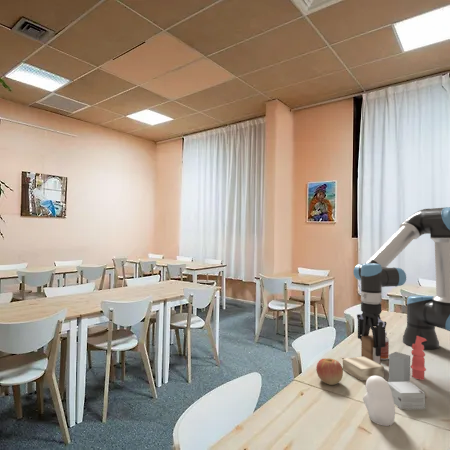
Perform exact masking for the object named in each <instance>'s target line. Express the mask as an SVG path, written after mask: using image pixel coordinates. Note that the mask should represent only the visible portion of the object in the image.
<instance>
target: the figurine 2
mask: <svg viewBox="0 0 450 450" xmlns="http://www.w3.org/2000/svg"><path fill="white" fill-rule="evenodd" d="M416 337H417V338H416V341H415V344H412V346H411V348H412V350H411V355H412V359H411V364H410V369H412V370H411V371H412V372H411V376H412V378H413V379H417V380H419V381H421V380H425V372H426V371H427V368H426V366H425V361H426V360H425V356H426V353H425V351H424V350H425V349H424V345H422V344H421V343H422V342H424V341H427V340H426V339H425V338H422V337H420V336H416Z"/></svg>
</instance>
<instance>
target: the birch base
mask: <svg viewBox="0 0 450 450" xmlns="http://www.w3.org/2000/svg"><path fill="white" fill-rule="evenodd" d="M342 368H343V372H346V373H348V374H349V375H351V376H353V377H355V378H356V379H358V380H359V381H367V379H368V378H369V377H371V376H380V377H382V378H385V376H384V375H385V371H384V370H385V366H384V365H382V364H381V365H380V364H378V363H376V362H374V361H372V360H370V359H368V358H366V357H364V356H363V357H361V356H357V357H346V358H342Z"/></svg>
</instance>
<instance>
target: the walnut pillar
mask: <svg viewBox="0 0 450 450" xmlns="http://www.w3.org/2000/svg"><path fill="white" fill-rule="evenodd" d="M360 343H361V348H360V349H361V356H360V357H363V356H364V357H366V358H368V359H370V360H372V361H373V346H375V345H374V340H373V334H372V335H371V334H369V336H362V339H360ZM381 363H382V360H381V356H380V365H382V364H381Z"/></svg>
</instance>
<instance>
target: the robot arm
mask: <svg viewBox="0 0 450 450" xmlns="http://www.w3.org/2000/svg"><path fill="white" fill-rule="evenodd" d="M426 234H429V236H430V239H431V240H432V241H433V242H434V263H435V267H434V268H435V288H436V289H435V290H436V292H435V293H436V294H435V295H410V296H408V297H407V302H406V327H405V330H404V331H403V335H402V342H403V344H405V345H408V346H410V347H412V344H415V341H416V338H417V337H416V336H420V337H422V338H425V339H426V340H427V341H424V342H422V343H421V344H422V345H424V350H437V349H439V348H440V341H439V339H438V335H437V332H436V328H439V329H442V330H444V331H445V330H446V331H448V332H450V207H448V206H444V207H437V208H435V207H433V208H424V209H420V210H418V211H416V212H414V213H413V214H411V215H409V216H408V217H407V218H406V219H405V220H404V221H403V222H401V224H400V225H399V229H398V230H397V231H396V232H395V233H393V235H392V236H391V237H390V238H388V240H387V241H386V242H385V243H383V244H382V245H381V246H380V248H379V249H378V250H377V251H376V252H375V253H374V254H373V255H371V257H369V258H368V260H367V261H365V262H364V263H358V264H356V265H355V267H354V268H353V272H352V273H353V276H354V278H355V279H356V280H358V281H360V301H361V303H360V311H361V312H362V313H361V314H360V313H358V314H356V316H357V317H356V318H357V339H359V340H361V339H362V336H369V335H370V331H371V332H372V336H373V340H374V345H375V346H373V361H374V362H376V363H378V364H380V356H381V347H385V346H386V344H385V331H386V328H387V322H386V321H383V320H382V319H381V313H382V302H383V301H382V288H385V287H401V286H403V285H405V283H406V282H407V274H406V271H404V269H402V268H401V267H388V266H389V265H390V264H391V263H392V262H393V261H394V260H395V259H396V258H397V257H398V256H399V255H400V254H401V253H402V252H403V251H404V250H405V248H406V247H407V246H409V245H410V244H411V242H412V241H413V240H417V239H419V238H420V236H423V235H426Z"/></svg>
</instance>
